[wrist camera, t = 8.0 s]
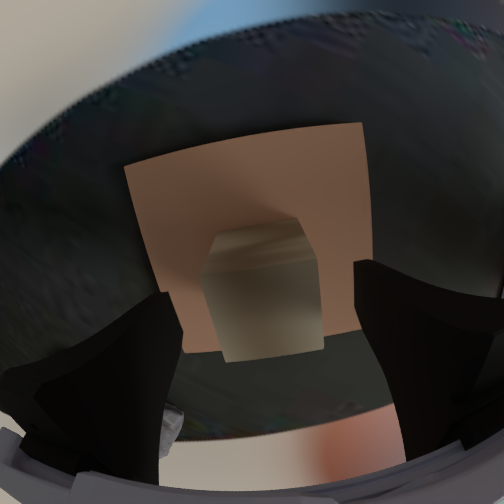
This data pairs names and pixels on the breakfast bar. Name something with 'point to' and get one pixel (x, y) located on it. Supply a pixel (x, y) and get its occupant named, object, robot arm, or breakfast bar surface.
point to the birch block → (263, 291)
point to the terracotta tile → (256, 212)
